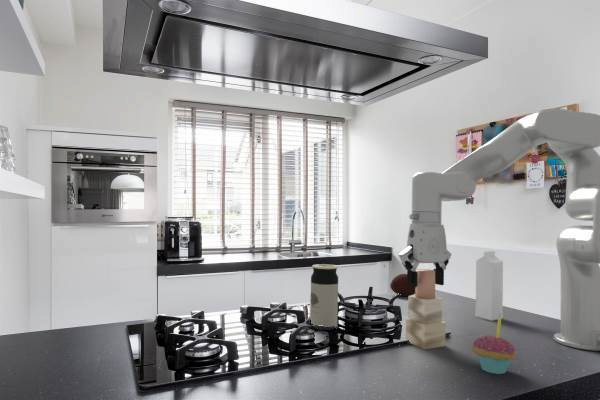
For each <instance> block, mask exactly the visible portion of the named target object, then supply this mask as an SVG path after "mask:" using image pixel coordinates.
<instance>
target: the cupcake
mask: <svg viewBox="0 0 600 400" xmlns="http://www.w3.org/2000/svg"><path fill="white" fill-rule="evenodd" d="M500 317H501V314H500ZM500 317H498V320H497V323H496V334H495V336H492V335H485V336H482V337H478V338H477V339H475V340H474V341H473V344H472V349H471V350H472V352H473V353H475V354H476V355H477V357H478V360H479V364H480V367H481V368H480V369H482V370H483V371H484V372H487V373H489V374H493V375H495V374H496V375H502V374H506V372H507V369H508V366H509V364H510V362H511V361H512V360H513V359H514V358H515V357H516V348H515V346H514V345H513V344H512V343H511V342H509V341H508V340H506V339H505V338H504V337H501V336H500V334H501V324H502V319H501V318H500Z"/></svg>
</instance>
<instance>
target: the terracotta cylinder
mask: <svg viewBox="0 0 600 400" xmlns="http://www.w3.org/2000/svg"><path fill="white" fill-rule="evenodd" d="M415 271H417V273H418V277H417V287H415V294H414V295H415V297H417V298H421V299H435V297H436V284H435V270H434V269H427V268H426V269H425V268H416V270H415Z"/></svg>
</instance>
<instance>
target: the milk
mask: <svg viewBox="0 0 600 400" xmlns="http://www.w3.org/2000/svg"><path fill="white" fill-rule="evenodd" d="M503 292H504V261H502V260H501V259H500V258H499V257H497V256H496V253H495V251H493V250H491V251H490V250H489V251H484V252H483V256H482V257H480V258H478V259H476V260H475V317H477V318H479V319H483V320H488V321H491V322H493V321H498V317H500V314H501V317H500V318H501V320H502V319H503V317H504V316H503V311H504V309H503V307H504V305H503V301H504V299H503V298H504V297H503V295H504V293H503Z"/></svg>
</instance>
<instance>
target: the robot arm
mask: <svg viewBox="0 0 600 400" xmlns="http://www.w3.org/2000/svg"><path fill="white" fill-rule="evenodd" d="M543 144H547V146H548V147H549V148H550V150H552V151H553V152H554V153H555V154H556V155H557V156H558V157H559V158H560V159H561V160H562V162H563V164H564V165H565V169H566V183H565V184H566V185H565V186H566V187H565V201H564V202H565V203H564V205H565V207H564V208H565V209H564V210H565V212H566V214H567V215H568V216H569V217H570V218H572V219H574V220H576V221H583V222H584V221H585V222H586V221H587V222H588V221H592V225H580V224H579V225H571V226H568V227H565V228H564V229H562V230H561V231H560V232H559V233H558V235H557V237H556V249H557V257H558V261H559V267H560V268H559V269H560V270H559V271H560V332H557V333H554V334H553V340H554V341H555V342H557V343H559V344H561V345H564V346H567V347H571V348H575V349H579V350H586V351H595V352H600V155H599V153H598V152H597V150H596V148H599V147H600V115H599V114H597V113H591V112H586V111H585V112H583V111H578V110H577V111H576V110H568V109H560V108H545V109H544V108H543V109H541V110H538V111H535V112H533V113H530V114H527V115H525V116H523V117H521V118H520V119H518V120H517V121H514V123H512V124H511V125H509V126H508V127H507V128H505V129H504V130H503V131H502V132H500V133H499V134H497V136H495V137H493V138H492V139H490V140H489V141H487V142H486V143H485V144H483V145H481V146H480V147H478V148H477V149H475V150H474V151H473V152H471V153H469V154H468V155H467V156H465V157H464V158H462V159H460V160H458V161H457V162H456V163H454V164H453V165H451V166H449V168H447V169H445V170H444V171H443V172H436V171H435V172H434V171H421V172H415V173H414V174H413V176H412V178H411V180H412V181H411V214H409V220H411V223H409V228H408V234H407V242H406V243H407V244H406V248H405V249H403V250H402V251H401V252H400V253H399V254H398V258H399V259H400V262H401V265H403V267H404V269H405V271H406V274H407V285H408V286H412V287H417V277H418V273H417V271H416V269H418V266H419V265H420V264H433V266H434V267H435V268H433V270H435V285H439V286H444V284H445V283H444V282H445V270H446V269H447V266H448V264H449V261H450V259H451V256H452V253H451V252H450V250H448V249H447V236H446V230H445V225H444V224H442V217H443V216H442V210H443V209H442V204H443V202H452V201H453V202H458V201H465V200H467V199H469V198H470V197H472V196H473V195H474V194H475V192H476V189H477V183H476V182H478V181H480V180H482V179H485V178H487V177H489V176H492V175H495V174H497V173H500V172H502V171H504V170H506V169H508V168H510V167H511V166H512V165H513V164H515V163H516V162H517V161H519V160H520V159H521V158H522V157H524V156H526V155H527V154H528V153H529V152H531V151H532V150H534V149H535V148H537V147H538V146H540V145H543Z"/></svg>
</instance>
